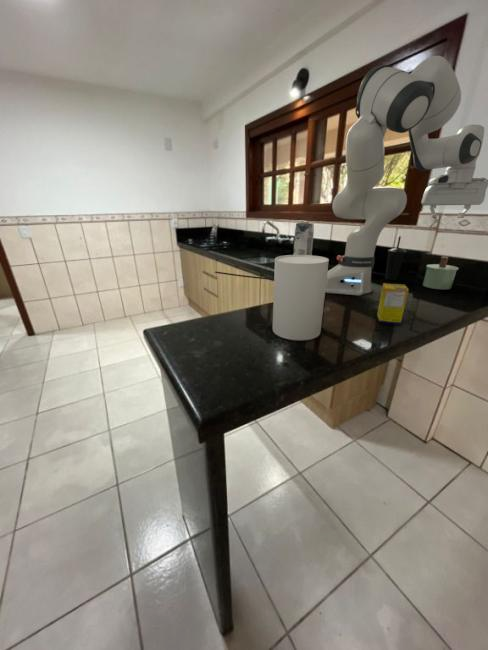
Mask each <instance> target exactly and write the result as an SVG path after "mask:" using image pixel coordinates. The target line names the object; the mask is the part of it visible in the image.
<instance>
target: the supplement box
mask: <svg viewBox="0 0 488 650" xmlns="http://www.w3.org/2000/svg"><path fill="white" fill-rule="evenodd" d="M408 294H409V288H408V287H407V286H406V284H401V283H387V282H384V283H382V288H381V293H380V298H379V302H378V307H377V313H376V318H377V322H378V323H379V324H389V325H390V324H391V325H399V326H400V325H401V323H402V320H403V316H404V312H405V307H406V302H407V298H408Z"/></svg>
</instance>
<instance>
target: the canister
mask: <svg viewBox="0 0 488 650" xmlns="http://www.w3.org/2000/svg"><path fill="white" fill-rule="evenodd" d="M329 262H330V259H329V258H328V257H325V256H319V255H313V254H312V255H294V254H287V255H279V256H276V257H275V258H274V273H273V274H274V276H273V278H274V280H273V298H272V299H273V300H272V301H273V302H272V303H273V304H272V307H273V308H272V328H271V330H272V332H273V333H274V334H275V335H276V336H277V337H279V338H282V339H286V340H290V341H309V340H313V339H315V338H318V337H319V336H320V335H321V331H322V324H323V323H322V322H323V315H324V314H323V313H324V306H325V305H324V303H325V299H326V298H325V296H326V293H325V289H326V280H327V272H328V271H329Z"/></svg>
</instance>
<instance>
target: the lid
mask: <svg viewBox="0 0 488 650" xmlns="http://www.w3.org/2000/svg"><path fill="white" fill-rule="evenodd" d="M448 260H449V257H448V256H441V257H440V261H439V263H437V264H436V263H434V264H433V263H432V264H431V263H430V264H427V265H425V266H426V269H427V268H430V269H436V270H446V271H454V270H457V271H458V270H459V268H460V267H457V266H455V265H449V264H448V262H449V261H448Z"/></svg>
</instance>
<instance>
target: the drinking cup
mask: <svg viewBox="0 0 488 650" xmlns="http://www.w3.org/2000/svg"><path fill="white" fill-rule="evenodd" d="M401 238H402V236H401V235H400V236H398V241H397V246H396V247H392V248H390V249H388V250H387V261H386V269H385V276H384V277H385V280H388V281H396V280H398V279H397V278H398V275H399V273H400V270H401V266H402V263H403V261H404V257H405V255H406V253H407V250H405V249H403V248H401V247H400V242H401Z"/></svg>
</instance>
